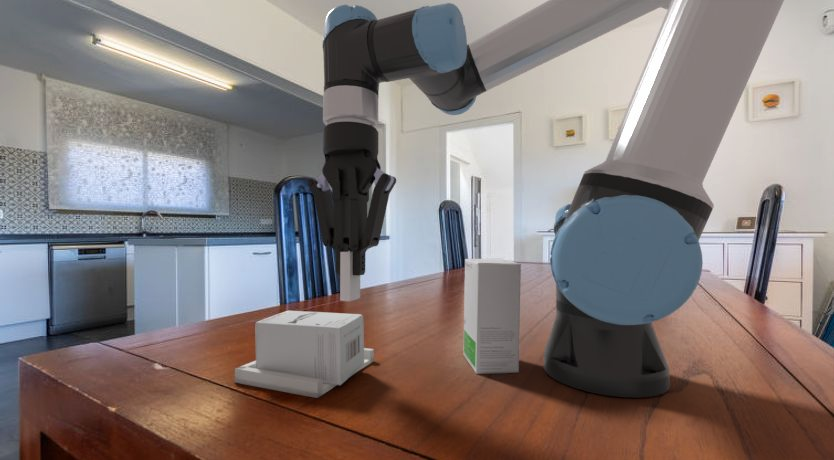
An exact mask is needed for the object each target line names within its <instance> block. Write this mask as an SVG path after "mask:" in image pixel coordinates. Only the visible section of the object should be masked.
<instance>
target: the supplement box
mask: <svg viewBox="0 0 834 460" xmlns="http://www.w3.org/2000/svg"><path fill="white" fill-rule="evenodd" d="M254 327H255V328H254V332H255V335H254V336H255V337H254V338H255V360H256V369H262V370H268V371H274V372H280V373H286V374H292V375H298V376H304V377H310V378H316V379H322V380H323V383H325V384H334V385H337V386H342V385H343V384H344V383H345V382H346V381H347V380H348V379H349V378H351V377H352V376H353V375H355V374H356V373H357V372H356V371H357V370H358V369H359V368H360V367H361V366H363V365H364V348H365V335H364V333H365V332H364V331H365V330H364V315H363V314H360V313H342V312H341V313H340V312H326V311H324V312H323V311H303V310H300V311H299V310H286V311H283V312H280V313H276V314H274V315H272V316H269V317H266V318H263V319H261V320H258V321H256V322H255V326H254ZM355 372H356V373H355ZM354 373H355V374H354ZM352 374H353V375H352ZM351 375H352V376H351Z"/></svg>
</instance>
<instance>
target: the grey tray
mask: <svg viewBox="0 0 834 460" xmlns="http://www.w3.org/2000/svg"><path fill="white" fill-rule="evenodd" d="M374 362H375V349H374V348H367V347H364V365H363V366H361V367H360V368H359V369H358V370H357V371H356V372H355V373H354V374H352V375H351V376H350V377H352V376H354V375H355V374H356V373H358V372H359V371H361V370H362V369H364V368H366V367H367V366H369V365H370V364H372V363H374ZM234 383H235V384H239V385H240V384H241V385H246V386H251V387H256V388H262V389H266V390H272V391H278V392H281V393H282V392H284V393H288V394H294V395H298V396H299V395H300V396H304V397H309V398H310V397H311V398H315V399H319V398H320V397H321V396H323V395H324V394H327V392H329V391H330V390H332V389H333V388H335V387H337V386H338V385H334V384H325V383H323V380H322V379H316V378H310V377H304V376H298V375H292V374H286V373H280V372H274V371H268V370H262V369H256V359H255V360H253V361H250V362H247V363H245V364H244V365H243V364H242V365H241V366H238V367H235V368H234Z"/></svg>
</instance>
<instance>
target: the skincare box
mask: <svg viewBox="0 0 834 460" xmlns="http://www.w3.org/2000/svg"><path fill="white" fill-rule="evenodd" d="M521 268H522V265H521V263H518V262H515V261H512V260H508V259H503V258H465V259H464V294H463V298H464V299H463V303H464V304H463V305H464V307H463V347H462V348H463V352H462V353H463V356H464V358H465V359H466V361H467V362H468V364H469V365H470V367H471V368H472V369H473V371H474V372H475V374H476V375H484V374H485V375H487V374H513V373H514V374H515V373H517V374H518V373H520V370H519V369H520V325H521V324H520V323H521V322H520V321H521V320H520V318H521V317H520V316H521V315H520V313H521V311H520V310H521V277H522V276H521V274H522V272H521V271H522V269H521Z"/></svg>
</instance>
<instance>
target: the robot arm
mask: <svg viewBox="0 0 834 460" xmlns="http://www.w3.org/2000/svg"><path fill="white" fill-rule="evenodd" d="M784 2H785V0H547V1H545V2H543V3H541V4H540V5H538V6H536V7H534V8H533V9H531V10H529V11H526V12H525V13H523V14H521V15H519V16H518V17H515V18H514V19H512V20H511V21H509V22H507V23H505V24H503V25H501V26H499V27H497V28H495V29H493V30H492V31H491V32H488V33H486V34H485V35H482V36H481V37H479V38H477V39H475V40H473V41H472V42H470V43H468V40H467V31H466V26H465V23H464V18H463V15H462V12H461V11H460V8H459V7H458V6H457V5H456V4H454V3H451V2H446V3H441V4H436V5H431V6H430V5H424V6H421V7H419V8H416V9H412V10H409V11H406V12H401V13H398V14H395V15H391V16H387V17H384V18H379V19H378V18H377V16H376V15H375V13H373V11H371V10H370V9H368V8H367V7H364V6H362V5H358V4H357V5H356V4H355V5H353V6H350V5H348V4H341V5H338V6H335V7H334V8H332V9H331V10H330V11H329V12H328V13H327V15H326V17H325V20H324V32H323V40H322V51H323V77H324V78H323V79H324V80H323V81H324V83H323V84H324V86H323V95H322V96H323V98H322V99H323V100H322V101H323V103H322V122H323V124H324V125H325V127H323V129H322V151H323V155H324V159H325V160H324V164H323V166H322V169H321V174H320V175H319V176H318V177H316V178H315V179H313V178H310V179H308V180H307V186H308V188H309V191H311V193H312V195H313V199H314V200H313V201H314V205H315V211H316V216H317V219H318V224H319V230H320V231H319V232H320V236H321V240H322V244H323V246H325V247H328V248H330V249H333V250H334V251H335V273H336V275H337V276H339V279H340V281H339V282H340V283H339V286H340V287H339V291H340V293H339V301H341V302H353V301H355V300H359V299H361V276H364V275H365V273H366V254H367V253H366V252H367V250H368V249H370V248H373V247H377V246H379V243H380V239H381V235H382V234H381V233H382V230H383V225H384V222H385V221H384V220H385V217H386V211H387V206H388V202H389V198H390V194H391V192H392V191H393V189H394V188H395V187H394V186H395V185H396V183H397V179H396V177H395V176H394V175H393V176H392V175H391V174H388V173H386V172H385V171H383V170H382V169H381V163H380V162H379V159H378V156H379V130H377V127H379V91H380V84H381V83H388V82H395V81H400V80H407V79H409V80H410V81H411V82H412V83H413V84H414V85H415V86H416V87H417V88H418V90H420V91H421V92H422V93H423V94H424V95H425V96H426V97H427V98H428V99H427V100H428V101H430V102H431V104H432V105H433V106H434V107H435V108H436V109H437V110H440V112H442V113H444V114H447V115H449V116H459V115H462V114H464V113H465V112H467V111H468V110H469V109H470V108H472V106H473V105H474V104H475V102H476V100H477V96H480V95H481V94H483V93H485V92H487V91H489V90H491V89H494V88H495V87H497V86H500V85H502V84H504V83H506V82H508V81H511V80H513V79H514V78H516V77H519V76H520V75H523V74H526V73H527V72H529V71H531V70H533V69H535V68H537V67H539V66H541V65H543V64H545V63H547V62H549V61H552V60H554V59H556V58H558V57H560V56H561V55H562V56H563V55H565V54H566V53H568V52H570V51H572V50H575V49H576V48H579V47H580V46H583V45H585V44H587V43H589V42H591V41H593V40H596V39H597V38H599V37H602V36H603V35H605V34H606V35H607V34H608V33H609V32H611V31H614V30H615V29H618V28H620V27H622V26H624V25H626V24H628V23H631V22H632V21H634V20H637V19H639V18H641V17H643V16H645V15H647V14H649V13H651V12H653V11H656V10H657V9H659V8H662V9H664V10H667V11H666V13H665V16H664V18H663V20H662V23H661V26H660V28H659V30H658V33H657V35H656V37H655V40H654V42H653V44H652V48H651V49H650V51H649V55H648V57H647V59H646V62H645V63H644V66H643V69H642V72H641V73H640V76H639V78H638V82H637V84H636V86H635V88H634V92H633V94H632V96H631V98H630V101H629V103H628V105H627V108H626V111H625V112H624V113H625V114H624V115H623V118H622V121H621V122H620V125H619V127H618V130H617V132H616V134H615V137H614V139H613V142H612V144H611V146H610V150H609V151H608V154H607V156H606V159H605V161H604V162H602V163H600V164H598V165H596V166H593V167H591V168H589V169H587V170H585V171H584V173H583V174H582V176H581V180H580V183H579V185H578V187H577V189H576V192H575V194H574V196H573V199H572V201H571V203H569V204H566V205H563V206H561V207H560V208H559V209H558V210H557V211H556V212H555V217H554V219H555V220H554V223H553V232H554V238H553V241H552V244H551V249H550V258H549V262H550V263H549V264H550V270H551V276H552V277H553V280H554V282H555V304H556V307H555V312H556V313H555V318H554V321H553V323H552V327H551V330H550V333H549V336H548V339H547V341H546V346H545V348H544V351H543V369H544V371H545V373H546V374H547V376H549V377H551V378H552V379H553V380H555V381H557V382H560V383H561V384H564V385H566V386H568V387H571V388H574V389H578V390H581V391H583V392H584V391H585V392H588V393H592V394H598V395H604V396H608V397H611V396H612V397H616V398H617V397H619V398H635V399H636V398H637V399H638V398H650V397H656V396H660V395H663V394H665V393H667V392H668V391H669V390H670V387H671V380H670V374H671V373H670V367H669V364H668V361H667V359H666V356H665V354H664V351H663V348H662V346H661V344H660V341H659V339H658V336H657V332H656V330H655V327H654V325H653V323H654V322H657V321H660V320H663V319H664V318H666V317H668V316H671V315H672V314H674V313H675V312H676V311H678V310H679V309H680V308H681V307H682V306H684V305H685V303H687V302H688V300H689V299H690V298H691V297H692V295H693V293H694V292H695V290H697V286H698V285H699V283H700V282H699V281H700V279H701V276H702V272H703V263H704V262H703V252H702V249H701V244H700V238H701V236H702V234H703V232H704V229H705V227H706V225H707V222H708V221H709V218H710V216H711V214H712V211H713V209H714V207H715V206H714V203H713V201H712V200H711V199H712V198H710V196H709V194H708V193H707V192H706V190H705V188H704V184H703V183H704V181H705V178H706V176H707V173H708V172H709V169H710V167H711V165H712V162H713V160H714V158H715V155H716V154H717V151H718V148H719V147H720V144H721V143H722V140H723V138H724V135H726V134H725V133H726V131H727V128H728V126H729V124H730V122H731V120H732V117H734V116H733V115H734V113H735V111H736V109H737V107H738V104H739V102H740V99H741V98H742V95H743V93H744V91H745V89H746V87H747V84H748V81H749V79H750V78H751V76H752V74H753V71H754V68H755V66H756V64H757V62H758V60H759V57H760V55H761V52H762V50H763V49H764V46H765V44H766V41H767V40H768V37H769V35H770V32H771V31H772V29H773V26H774V23H775V21H776V19H777V17H778V15H779V13H780V10H781V8H782V6H783V4H784ZM373 184H374V188H373V191H372V195H371V200H370V189H371V187H372V185H373ZM330 189H331V193H330V191H329V190H330ZM369 201H370V204H369V209H368V202H369Z"/></svg>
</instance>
